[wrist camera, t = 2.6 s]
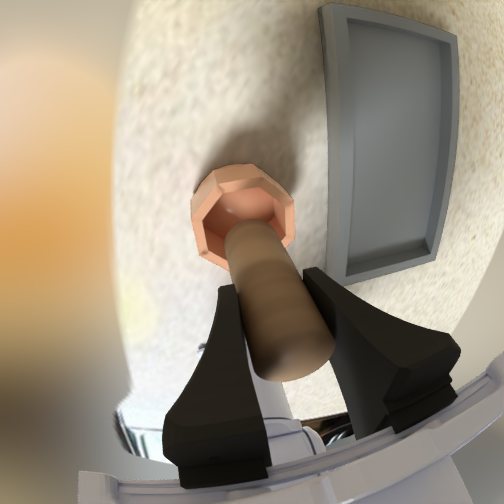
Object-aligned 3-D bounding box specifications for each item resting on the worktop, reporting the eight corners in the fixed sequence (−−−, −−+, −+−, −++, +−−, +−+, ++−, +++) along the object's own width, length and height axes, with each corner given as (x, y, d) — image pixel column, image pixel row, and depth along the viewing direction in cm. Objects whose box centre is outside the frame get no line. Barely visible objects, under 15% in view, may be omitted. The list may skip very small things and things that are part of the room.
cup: (281, 235, 23) (295, 260, 20) (202, 250, 22) (204, 278, 19) (276, 157, 19) (292, 172, 16) (185, 172, 19) (184, 189, 16)
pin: (278, 260, 17) (330, 369, 11) (228, 270, 17) (256, 389, 10) (275, 214, 16) (339, 319, 9) (220, 224, 15) (248, 341, 9)
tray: (423, 250, 27) (434, 260, 25) (325, 274, 26) (333, 288, 24) (440, 35, 15) (456, 35, 13) (317, 8, 14) (330, 2, 12)
